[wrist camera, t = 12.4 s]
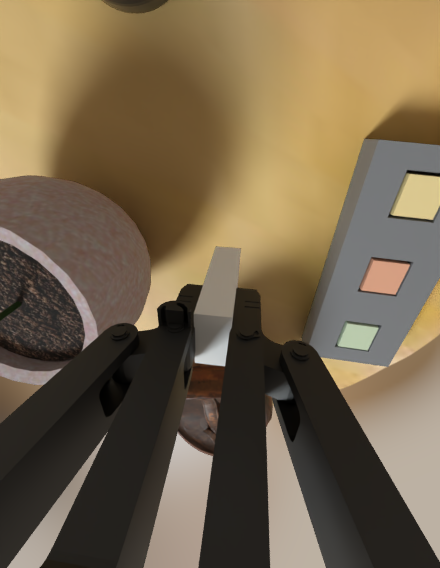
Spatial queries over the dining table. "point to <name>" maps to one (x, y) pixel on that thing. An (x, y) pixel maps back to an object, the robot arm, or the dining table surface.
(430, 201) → the ochre button
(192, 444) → the brown tapered container
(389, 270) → the terracotta button
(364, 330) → the sage button
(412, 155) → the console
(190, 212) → the dining table surface
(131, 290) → the plant pot
